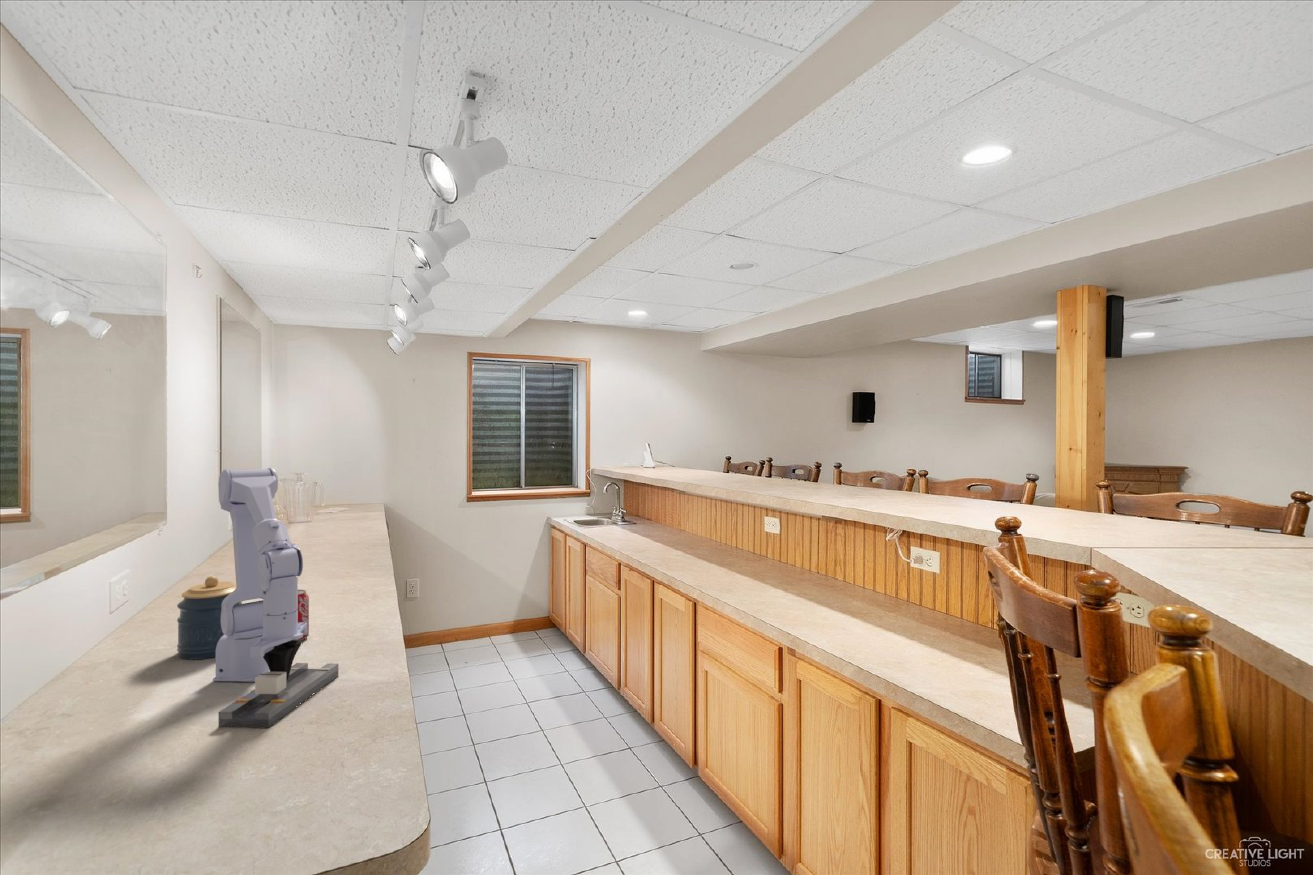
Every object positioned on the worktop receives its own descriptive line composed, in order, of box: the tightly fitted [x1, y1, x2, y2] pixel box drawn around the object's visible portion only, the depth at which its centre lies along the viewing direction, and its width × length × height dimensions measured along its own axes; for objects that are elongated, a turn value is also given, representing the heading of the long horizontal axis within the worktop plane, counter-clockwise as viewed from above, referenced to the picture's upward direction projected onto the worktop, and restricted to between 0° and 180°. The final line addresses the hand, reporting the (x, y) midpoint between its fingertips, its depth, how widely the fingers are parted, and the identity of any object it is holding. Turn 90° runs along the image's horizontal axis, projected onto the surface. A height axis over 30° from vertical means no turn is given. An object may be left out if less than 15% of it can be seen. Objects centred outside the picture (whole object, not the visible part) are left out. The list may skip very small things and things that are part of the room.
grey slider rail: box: [218, 662, 339, 729], centre depth 121 cm, size 9×23×3 cm, turn 179°
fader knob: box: [254, 671, 286, 701], centre depth 117 cm, size 4×3×5 cm
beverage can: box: [293, 589, 310, 642], centre depth 155 cm, size 6×6×12 cm
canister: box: [176, 575, 243, 660], centre depth 147 cm, size 13×13×18 cm
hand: (280, 681), depth 120 cm, fingers closed
